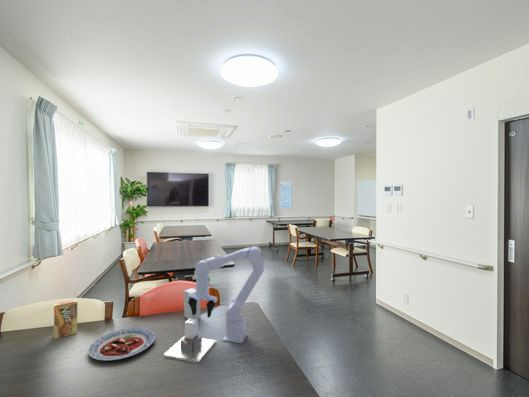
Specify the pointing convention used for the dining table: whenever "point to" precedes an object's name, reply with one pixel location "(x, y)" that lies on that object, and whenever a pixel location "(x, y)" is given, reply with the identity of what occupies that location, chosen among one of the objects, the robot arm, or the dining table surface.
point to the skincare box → (187, 307)
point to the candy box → (65, 319)
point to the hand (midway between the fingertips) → (201, 315)
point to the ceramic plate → (121, 344)
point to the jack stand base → (190, 349)
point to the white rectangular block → (191, 329)
